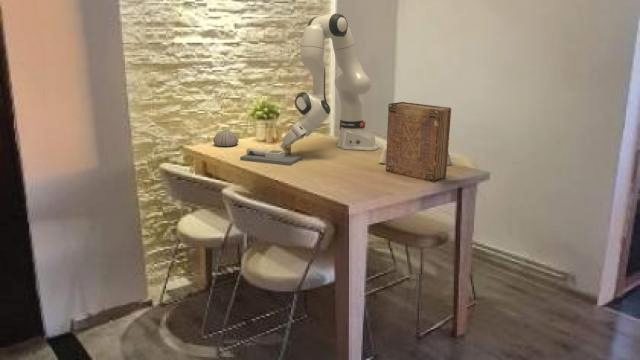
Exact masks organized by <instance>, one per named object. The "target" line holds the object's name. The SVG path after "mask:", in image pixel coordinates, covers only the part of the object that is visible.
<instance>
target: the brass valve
mask: <svg viewBox="0 0 640 360" xmlns="http://www.w3.org/2000/svg"><path fill="white" fill-rule="evenodd" d="M282 151H285V154H286V155H292V145H291V144H289V145H286V147H285V148H283V149H282Z"/></svg>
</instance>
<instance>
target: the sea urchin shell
mask: <svg viewBox="0 0 640 360" xmlns="http://www.w3.org/2000/svg"><path fill="white" fill-rule="evenodd" d="M212 142H213V144H214V145H215V146H217V147H232V146H237V145H238V144H239V138H238V136H237V135H236V134H235V132H233V131H231V130H226V129H225V130H221V131H218V132H217V133H216V134H215V135H214V137H213V140H212Z"/></svg>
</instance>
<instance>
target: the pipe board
mask: <svg viewBox="0 0 640 360" xmlns="http://www.w3.org/2000/svg"><path fill="white" fill-rule="evenodd" d="M303 156H304V155H295V154H291V155H286V154H285V151H283V150H280V149H278V150H277V149H263V148H262V149H261V148H253V147H247V148H246V154H244V155H241V156H240V157H239V158H240V159H239V160H240V161H244V162H245V161H246V162H256V163H264V164H273V165H282V166H292V165H294V164H296V163H298V162H300V161H302V160H303Z"/></svg>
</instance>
